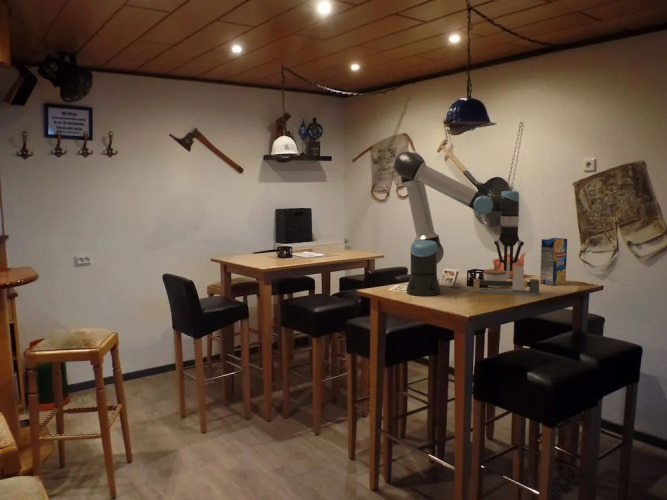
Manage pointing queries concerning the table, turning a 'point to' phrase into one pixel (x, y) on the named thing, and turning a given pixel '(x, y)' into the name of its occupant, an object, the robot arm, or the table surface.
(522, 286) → the grey upright block
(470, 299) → the table surface
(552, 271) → the beverage box
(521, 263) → the teapot
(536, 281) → the cord rig
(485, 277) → the lidded jar
